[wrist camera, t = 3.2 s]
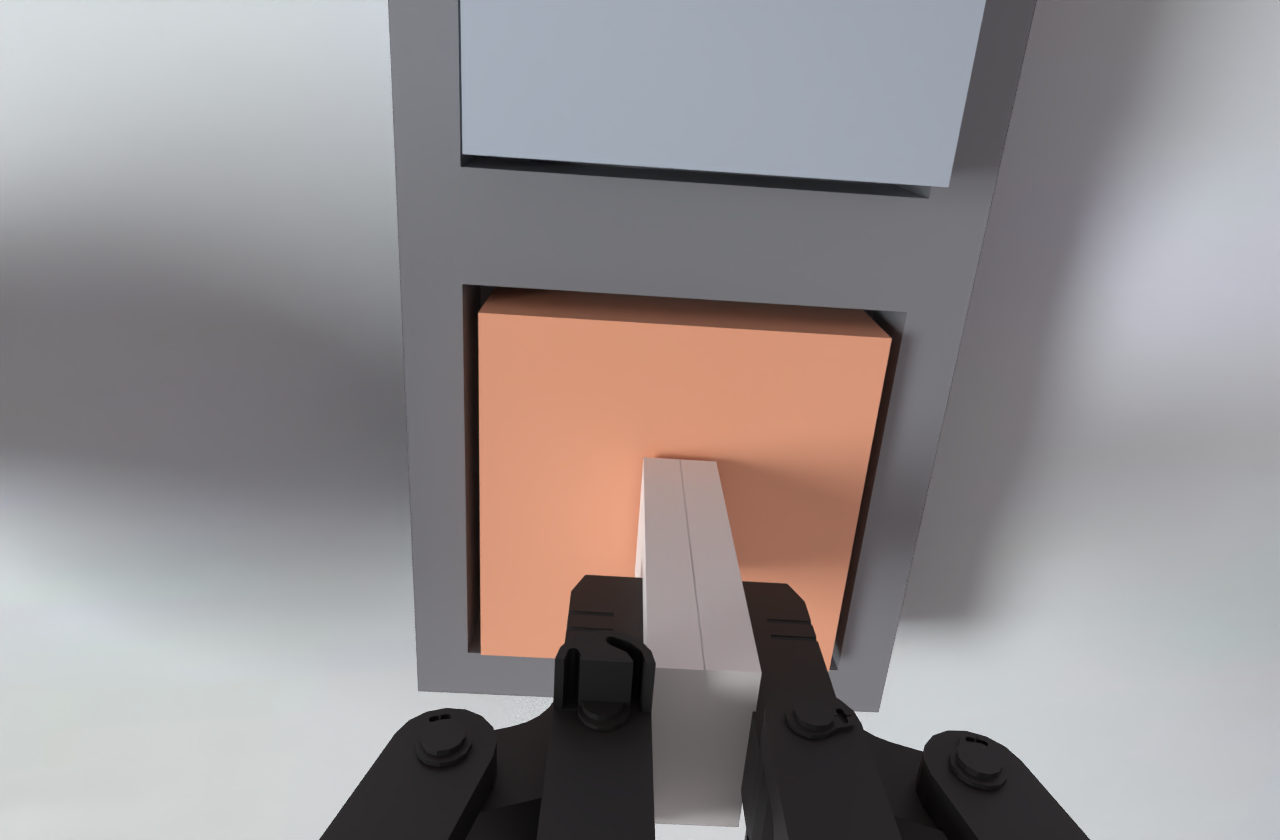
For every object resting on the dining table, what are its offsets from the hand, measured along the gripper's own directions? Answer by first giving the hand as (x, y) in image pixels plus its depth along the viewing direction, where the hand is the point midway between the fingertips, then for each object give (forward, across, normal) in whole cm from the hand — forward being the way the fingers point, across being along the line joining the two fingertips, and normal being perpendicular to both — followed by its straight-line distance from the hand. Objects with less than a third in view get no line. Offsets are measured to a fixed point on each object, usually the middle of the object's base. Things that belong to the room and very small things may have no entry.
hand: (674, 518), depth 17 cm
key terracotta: (+3, 0, 0) cm, 3 cm away
